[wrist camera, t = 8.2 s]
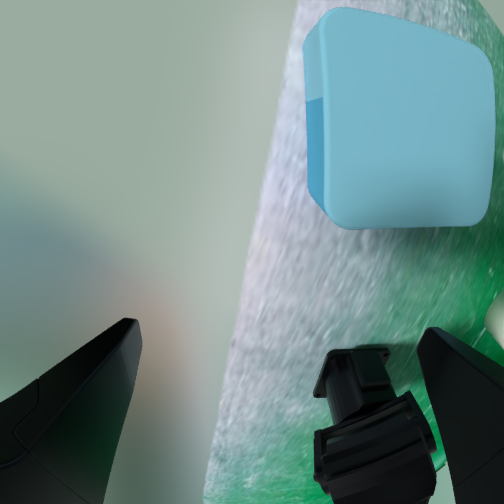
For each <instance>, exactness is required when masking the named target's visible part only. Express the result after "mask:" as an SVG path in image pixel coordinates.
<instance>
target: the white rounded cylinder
mask: <svg viewBox="0 0 504 504" xmlns="http://www.w3.org/2000/svg"><path fill="white" fill-rule="evenodd" d="M484 326H485V328H486V329H487V330H488V331H489V333H490V334H491V335H492V336H493V337H494V339H495V340H496V341H497V342H498V343H499V345H500V346H501V347H502V348H503V350H504V290H503V291H502V292H501V293H500V294H499V295H498V296H497V297H496V298H495V299H494V301H493V302H492V304H491V305H490V307H489V309H488V311H487V313H486V316H485V320H484Z"/></svg>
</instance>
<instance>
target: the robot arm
mask: <svg viewBox="0 0 504 504" xmlns="http://www.w3.org/2000/svg"><path fill="white" fill-rule="evenodd" d="M141 351H142V337H141V332H140V326H139V322H138V320H137V319H132V318H123V319H121V320H120V321H118V322H117V323H115V324H114V325H112V326H111V327H110V328H108V329H107V330H105V331H104V332H102V333H101V334H99V335H98V336H97V337H95V338H94V339H93V340H91V341H89V342H88V343H86V344H85V345H84V346H82V347H81V348H79V349H78V350H76V351H75V352H74V353H72V354H71V355H69V356H68V357H66V358H65V359H64V360H62V361H61V362H60V363H58V364H57V365H55V366H54V367H52V368H51V369H50V370H48V371H47V372H45V373H44V374H42V375H41V376H40V377H39V379H35V380H34V381H33V382H31V383H30V384H28V385H27V386H25V387H24V388H23V389H21V390H20V391H18V392H17V393H15V394H14V395H12V396H10V397H9V398H7V399H5V400H4V401H2V402H0V504H103V501H104V497H105V493H106V488H107V484H108V480H109V476H110V472H111V468H112V464H113V460H114V456H115V452H116V449H117V445H118V442H119V438H120V435H121V431H122V428H123V424H124V421H125V417H126V414H127V411H128V407H129V404H130V401H131V398H132V394H133V390H134V385H135V380H136V375H137V369H138V365H139V360H140V355H141ZM390 354H391V353H390V350H389V349H388V348H384V349H368V350H346V351H331V352H329V353H328V354H327V355H326V358H325V361H324V364H323V367H322V370H321V372H320V375H319V378H318V380H317V383H316V386H315V388H314V391H313V396H314V397H315V398H326V397H327V400H328V404H329V408H330V412H331V416H332V420H333V424H334V425H333V426H330V427H328V428H325V429H322V430H321V429H319V430H316V431H314V436H315V439H314V475H313V478H314V481H315V482H317V483H320V485H321V488H322V489H323V491H324V492H325V494H327V495H330V494H331V497H332V500H333V503H334V504H428V502H429V499H430V497H431V496H433V494H434V491H435V486H436V482H437V481H436V477H437V476H436V471H435V468H434V465H433V462H432V458H431V454H433V453H435V452H436V451H437V447H436V443H435V439H434V436H433V433H432V431H431V428H430V426H429V424H428V422H427V420H426V418H425V416H424V414H423V412H422V411H421V409H420V407H419V405H418V403H417V402H416V400H415V398H414V396H413V395H412V393H411V391H410V390H409V391H407V392H405V393H404V394H403V395H401V396H399V397H397V396H396V394H395V392H394V389H393V387H392V385H391V379H390V377H389V375H388V373H387V370H386V368H385V364H386V362H387V360H388V358H389V356H390ZM417 355H418V358H419V362H420V366H421V370H422V374H423V378H424V382H425V386H426V390H427V393H428V396H429V399H430V402H431V405H432V408H433V412H434V415H435V418H436V421H437V425H438V428H439V432H440V435H441V439H442V442H443V446H444V450H445V454H446V458H447V462H448V467H449V471H450V475H451V480H452V485H453V491H454V496H455V502H456V504H504V367H502V366H501V365H499V364H498V363H496V362H495V361H493V360H491V359H490V358H488V357H487V356H485V355H483V354H482V353H480V352H478V351H477V350H475V349H474V348H472V347H470V346H469V345H467V344H465V343H464V342H462V341H460V340H459V339H457V338H456V337H454V336H452V335H451V334H449V333H447V332H446V331H444V330H442V329H441V328H439V327H429V328H427V329H426V330H425V332H424V334H423V336H422V338H421V340H420V342H419V344H418V346H417ZM332 356H333V357H332Z"/></svg>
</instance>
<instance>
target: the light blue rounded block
mask: <svg viewBox="0 0 504 504" xmlns="http://www.w3.org/2000/svg"><path fill="white" fill-rule="evenodd" d="M303 59H304V75H305V93H306V117H307V158H308V189H309V192H310V194H311V196H312V198H313V199H314V200H315V201H316V203H317V204H318V205H319V206H320V207H321V209H322V210H323V211H324V212H325V213H326V214H327V216H328V217H329V218H330V219H331V220H332V222H334V223H335V224H336V225H338V226H339V227H341V228H344V229H349V230H361V229H387V228H418V227H456V226H473V225H475V224H477V223H478V222H480V221H481V220H482V218H483V217H484V215H485V214H486V212H487V209H488V205H489V200H490V193H491V185H492V176H493V166H494V153H495V123H496V119H495V89H494V77H493V70H492V67H491V64H490V62H489V60H488V58H487V56H486V55H485V54H484V52H483V51H482V50H481V49H480V48H478V47H477V46H475V45H473V44H471V43H469V42H467V41H464V40H462V39H460V38H457V37H455V36H452V35H450V34H447V33H444V32H442V31H439V30H436V29H433V28H430V27H427V26H424V25H421V24H418V23H415V22H411V21H408V20H404V19H401V18H397V17H393V16H389V15H385V14H380V13H376V12H371V11H366V10H361V9H355V8H349V7H338V8H334V9H331V10H329V11H328V12H326V13H325V14H324V15H323V16H322V18H321V19H320V20H319V21H318V23H317V24H316V25H315V26H314V28H313V29H312V30H311V31H310V33H309V34H308V35H307V37H306V38H305V40H304V43H303Z"/></svg>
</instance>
